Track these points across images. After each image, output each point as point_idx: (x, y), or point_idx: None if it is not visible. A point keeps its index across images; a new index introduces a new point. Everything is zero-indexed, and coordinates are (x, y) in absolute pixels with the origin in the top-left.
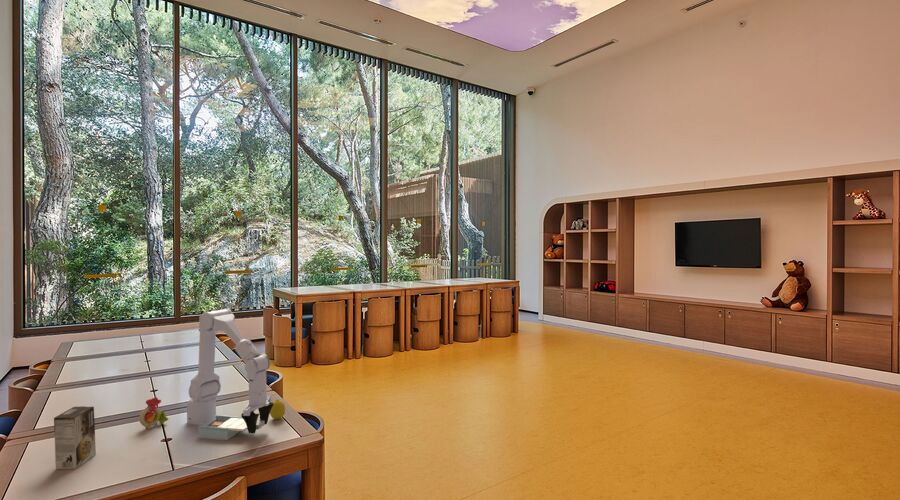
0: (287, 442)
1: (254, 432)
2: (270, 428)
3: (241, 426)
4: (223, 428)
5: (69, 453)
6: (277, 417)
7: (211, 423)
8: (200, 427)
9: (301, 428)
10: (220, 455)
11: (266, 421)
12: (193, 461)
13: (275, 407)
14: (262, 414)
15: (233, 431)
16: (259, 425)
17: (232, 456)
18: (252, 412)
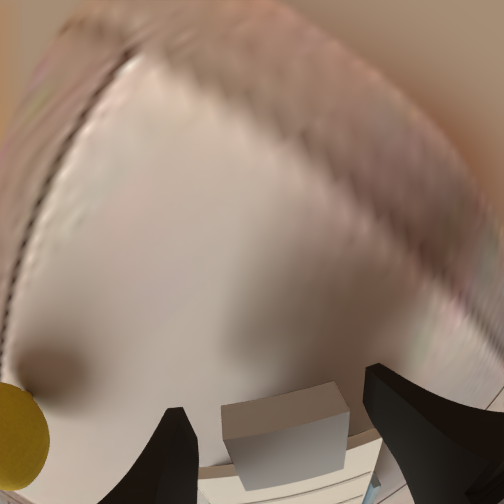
0: (270, 79)
1: (381, 365)
2: (116, 376)
3: (338, 473)
4: (376, 492)
5: None
6: (28, 400)
7: None
8: None
9: (17, 161)
10: (470, 348)
11: (178, 424)
12: (490, 379)
13: (11, 458)
14: (186, 500)
15: None
16: (324, 407)
17: (481, 296)
18: (502, 495)
